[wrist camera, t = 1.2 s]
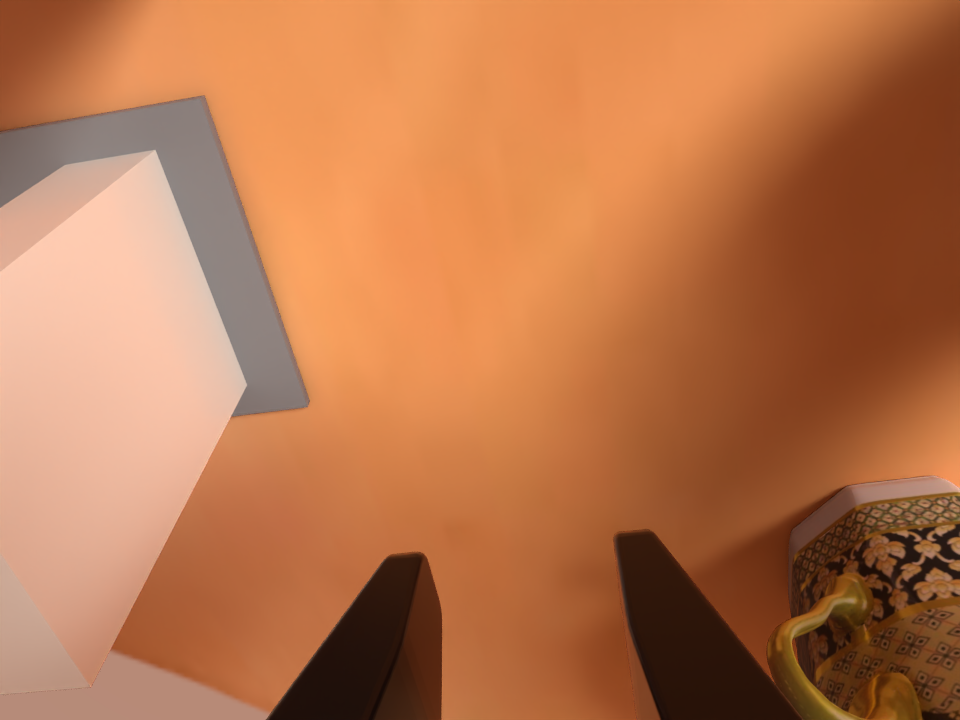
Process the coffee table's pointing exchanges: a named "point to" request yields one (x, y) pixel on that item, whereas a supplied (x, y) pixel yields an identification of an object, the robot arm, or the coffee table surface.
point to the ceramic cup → (874, 605)
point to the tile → (97, 407)
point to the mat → (205, 212)
